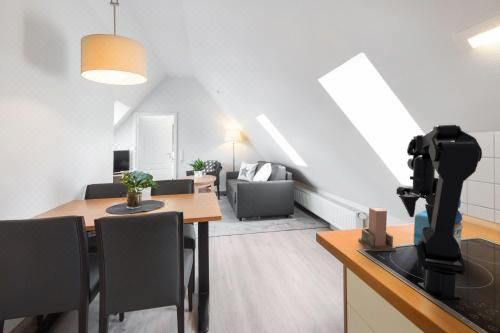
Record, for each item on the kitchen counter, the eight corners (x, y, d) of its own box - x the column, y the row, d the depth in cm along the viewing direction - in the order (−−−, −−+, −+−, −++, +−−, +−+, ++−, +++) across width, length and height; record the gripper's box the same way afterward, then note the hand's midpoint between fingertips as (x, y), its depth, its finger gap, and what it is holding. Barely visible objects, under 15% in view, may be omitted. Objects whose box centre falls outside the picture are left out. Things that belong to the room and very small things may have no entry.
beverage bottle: (433, 246, 93) (436, 193, 91) (462, 253, 87) (466, 197, 85) (427, 253, 87) (430, 197, 86) (457, 261, 81) (461, 201, 79)
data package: (427, 249, 90) (428, 217, 89) (413, 245, 94) (414, 214, 93) (438, 241, 98) (439, 211, 97) (424, 238, 101) (426, 209, 100)
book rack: (396, 250, 89) (396, 237, 89) (371, 251, 89) (371, 237, 89) (380, 240, 99) (381, 228, 99) (358, 240, 99) (358, 228, 99)
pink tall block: (385, 245, 92) (386, 210, 91) (374, 245, 92) (376, 211, 90) (378, 240, 97) (379, 207, 96) (368, 240, 97) (369, 207, 95)
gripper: (474, 177, 71) (471, 230, 72) (426, 170, 90) (424, 213, 91) (437, 177, 71) (434, 231, 72) (396, 171, 89) (394, 213, 91)
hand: (421, 221), depth 81 cm, fingers open, 9 cm apart
